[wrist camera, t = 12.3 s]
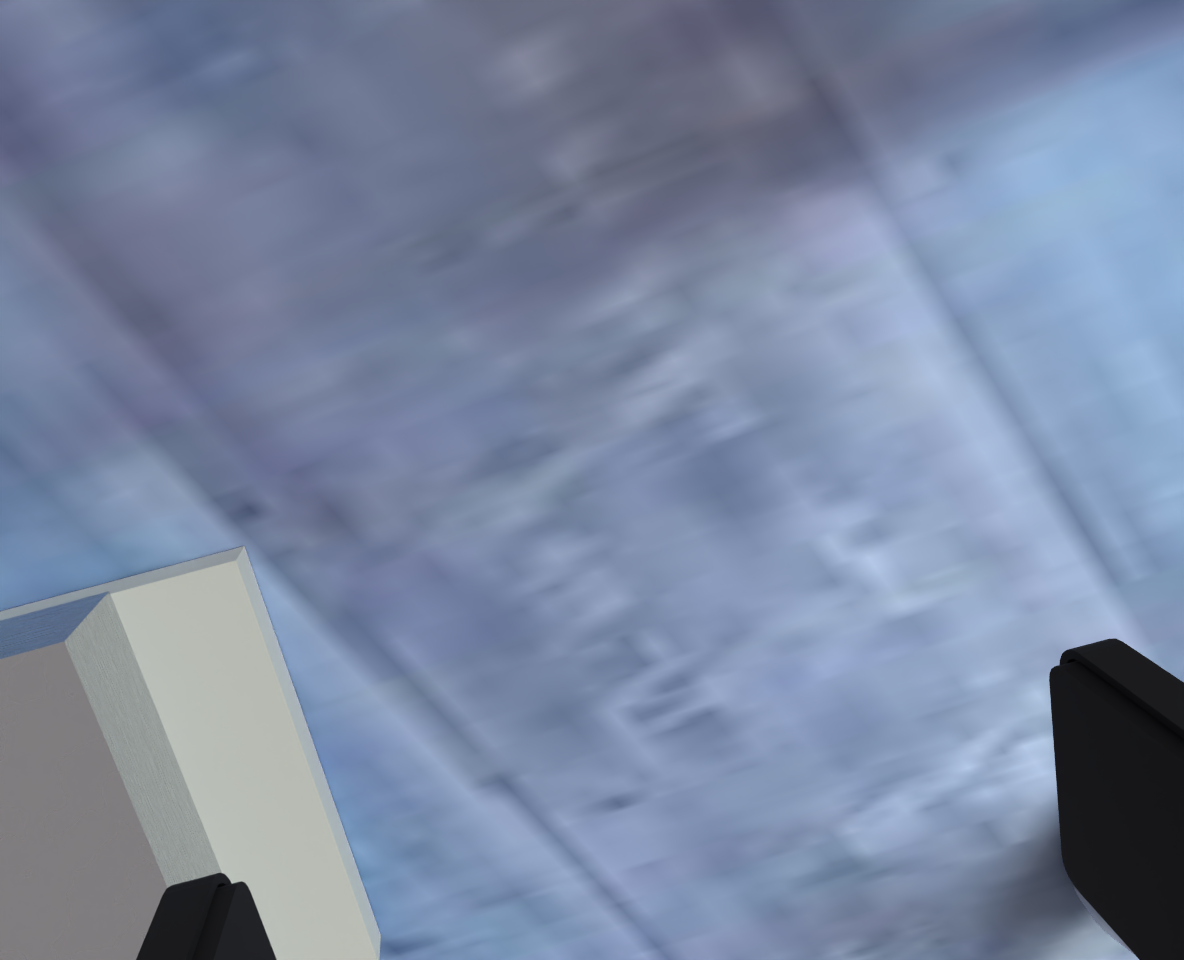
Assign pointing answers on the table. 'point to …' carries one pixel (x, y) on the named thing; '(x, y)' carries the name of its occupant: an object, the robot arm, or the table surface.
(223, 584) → the board
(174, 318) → the table surface
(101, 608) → the link plate
